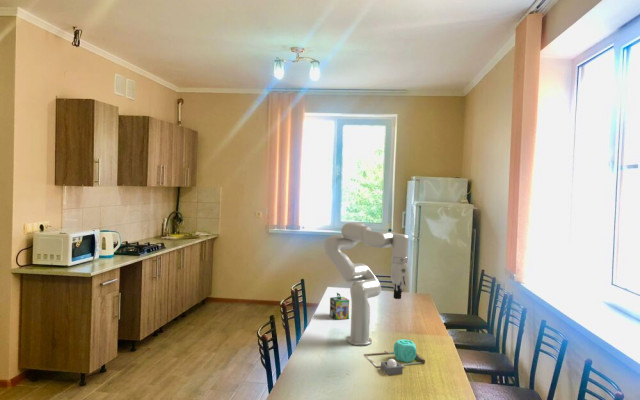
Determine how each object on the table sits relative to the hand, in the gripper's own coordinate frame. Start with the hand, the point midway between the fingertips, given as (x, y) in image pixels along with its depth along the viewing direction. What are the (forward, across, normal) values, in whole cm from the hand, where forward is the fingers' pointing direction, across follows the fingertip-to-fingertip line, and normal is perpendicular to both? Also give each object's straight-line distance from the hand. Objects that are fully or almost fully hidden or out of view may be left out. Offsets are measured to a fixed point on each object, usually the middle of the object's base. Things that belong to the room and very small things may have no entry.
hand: (397, 298), depth 211 cm
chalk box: (+29, +61, +10) cm, 68 cm away
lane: (+28, -5, +2) cm, 28 cm away
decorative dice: (+28, -5, -3) cm, 28 cm away
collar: (+27, -16, +8) cm, 33 cm away
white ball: (+27, -16, +8) cm, 32 cm away
